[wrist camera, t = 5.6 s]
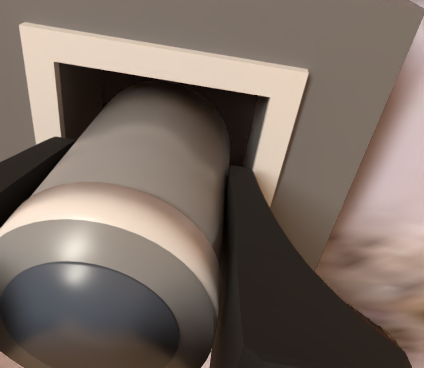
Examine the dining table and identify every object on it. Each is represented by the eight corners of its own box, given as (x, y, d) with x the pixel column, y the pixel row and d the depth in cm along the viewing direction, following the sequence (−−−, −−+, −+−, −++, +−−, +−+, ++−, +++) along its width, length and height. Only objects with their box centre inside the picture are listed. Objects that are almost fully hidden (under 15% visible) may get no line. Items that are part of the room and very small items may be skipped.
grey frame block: (39, 202, 18) (-5, 262, 15) (-5, -80, 12) (-95, -76, 9) (292, 243, 18) (301, 311, 15) (384, -14, 12) (430, 12, 9)
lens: (100, 194, 14) (-6, 384, 8) (90, 71, 12) (-75, 215, 6) (224, 208, 14) (206, 411, 8) (239, 87, 12) (229, 251, 6)
